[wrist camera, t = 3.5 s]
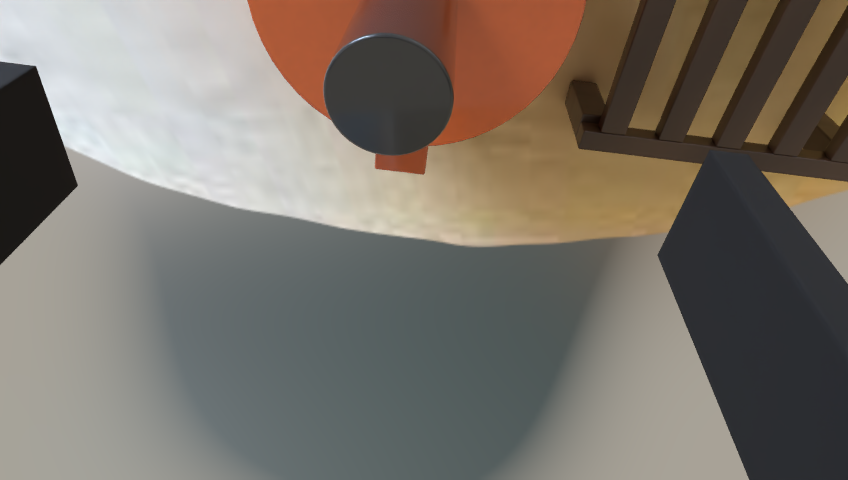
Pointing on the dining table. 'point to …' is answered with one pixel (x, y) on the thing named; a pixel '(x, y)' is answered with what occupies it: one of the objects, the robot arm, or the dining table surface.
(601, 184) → the dining table surface
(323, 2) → the lid
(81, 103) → the dining table surface
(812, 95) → the rack
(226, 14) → the dining table surface
